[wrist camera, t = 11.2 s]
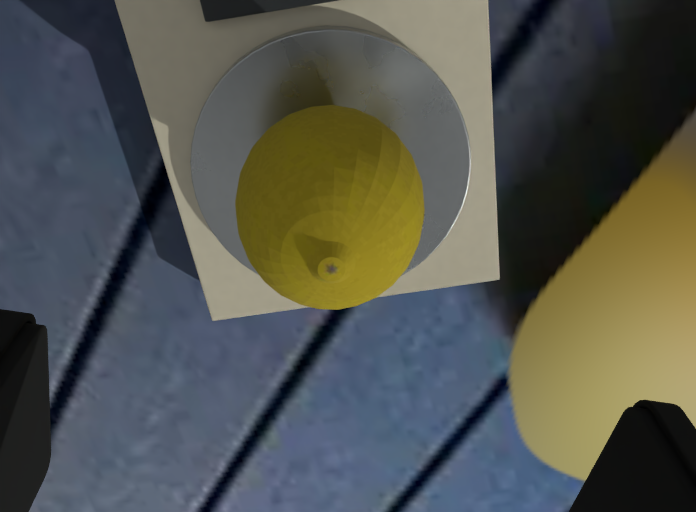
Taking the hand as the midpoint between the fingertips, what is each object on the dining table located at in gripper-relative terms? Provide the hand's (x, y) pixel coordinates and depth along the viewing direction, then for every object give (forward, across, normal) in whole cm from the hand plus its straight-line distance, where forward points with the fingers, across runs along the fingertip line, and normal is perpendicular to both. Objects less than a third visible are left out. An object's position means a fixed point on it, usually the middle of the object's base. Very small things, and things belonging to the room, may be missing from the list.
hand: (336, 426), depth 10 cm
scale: (+17, 0, +1) cm, 17 cm away
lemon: (+14, 0, +1) cm, 14 cm away
